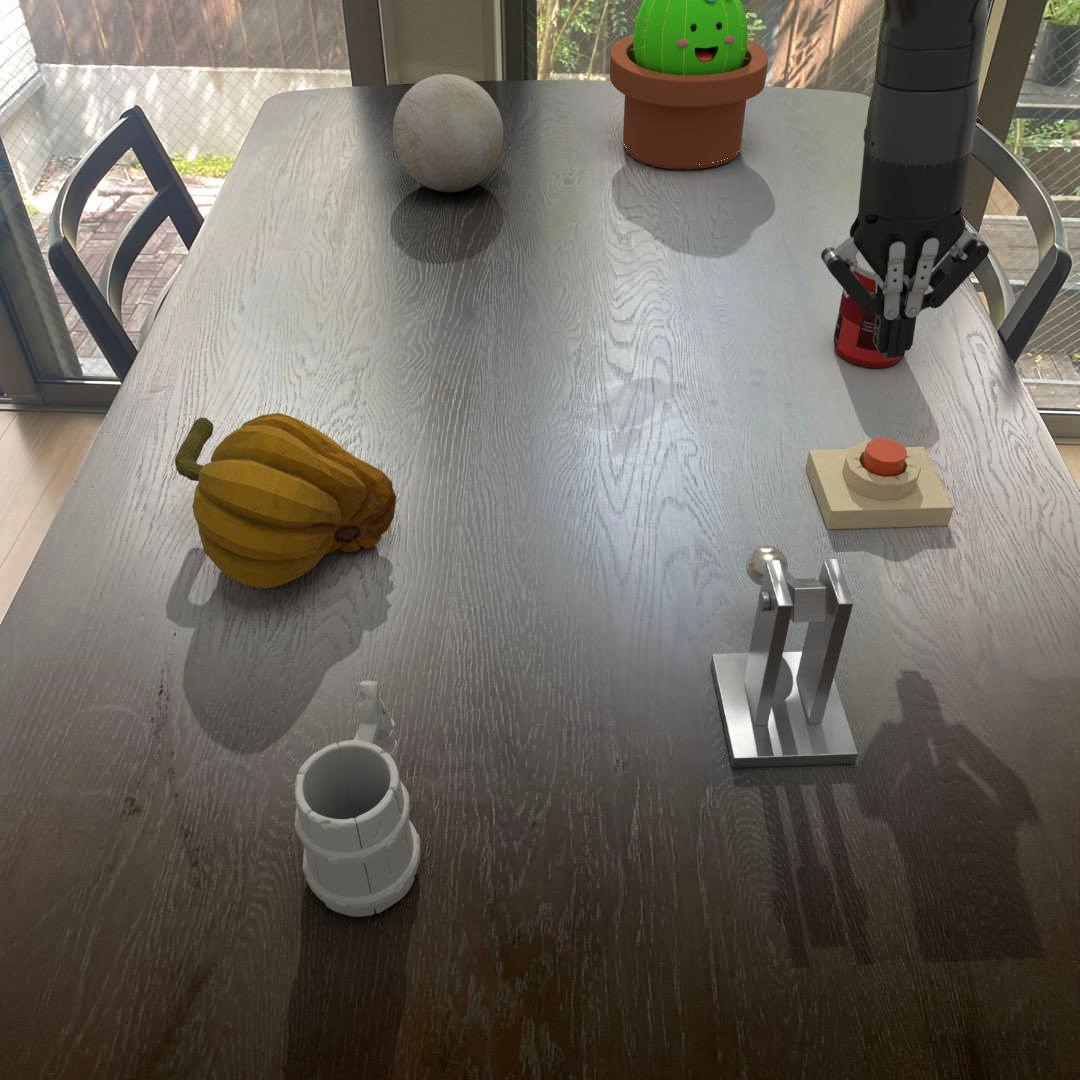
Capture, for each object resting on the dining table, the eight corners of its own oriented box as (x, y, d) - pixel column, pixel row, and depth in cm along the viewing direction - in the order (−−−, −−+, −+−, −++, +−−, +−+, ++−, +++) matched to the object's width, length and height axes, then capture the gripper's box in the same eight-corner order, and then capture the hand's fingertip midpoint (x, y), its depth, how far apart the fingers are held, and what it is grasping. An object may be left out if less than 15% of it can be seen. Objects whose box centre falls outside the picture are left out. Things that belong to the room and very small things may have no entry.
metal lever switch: (710, 664, 85) (729, 534, 76) (823, 660, 86) (856, 530, 76) (731, 768, 78) (756, 638, 69) (855, 764, 78) (896, 633, 69)
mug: (291, 914, 70) (258, 806, 62) (343, 765, 79) (319, 654, 71) (406, 930, 69) (387, 823, 61) (446, 777, 78) (433, 666, 70)
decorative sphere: (467, 219, 144) (461, 106, 134) (376, 196, 150) (364, 85, 140) (524, 178, 154) (523, 69, 144) (437, 157, 159) (429, 51, 149)
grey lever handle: (741, 581, 86) (742, 542, 86) (781, 580, 87) (782, 541, 86) (786, 629, 73) (786, 582, 72) (833, 627, 73) (834, 581, 72)
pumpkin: (342, 651, 89) (108, 572, 88) (391, 541, 103) (187, 471, 101) (379, 524, 81) (122, 435, 80) (426, 422, 95) (206, 344, 93)
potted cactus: (593, 125, 168) (598, -53, 151) (728, 115, 171) (748, -62, 154) (627, 184, 152) (636, -8, 135) (776, 171, 155) (803, -18, 138)
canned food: (859, 324, 124) (879, 234, 116) (918, 352, 119) (943, 261, 112) (816, 347, 120) (834, 256, 113) (876, 378, 115) (898, 285, 108)
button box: (918, 464, 104) (928, 431, 102) (948, 525, 98) (959, 491, 95) (805, 467, 104) (812, 434, 101) (827, 529, 97) (835, 495, 95)
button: (896, 452, 100) (900, 437, 99) (907, 477, 97) (912, 461, 96) (857, 453, 100) (861, 438, 98) (868, 478, 97) (871, 462, 96)
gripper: (841, 169, 76) (823, 384, 86) (1029, 149, 76) (988, 368, 86) (814, 135, 82) (800, 341, 92) (989, 117, 82) (955, 325, 92)
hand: (891, 353), depth 89 cm, fingers closed
